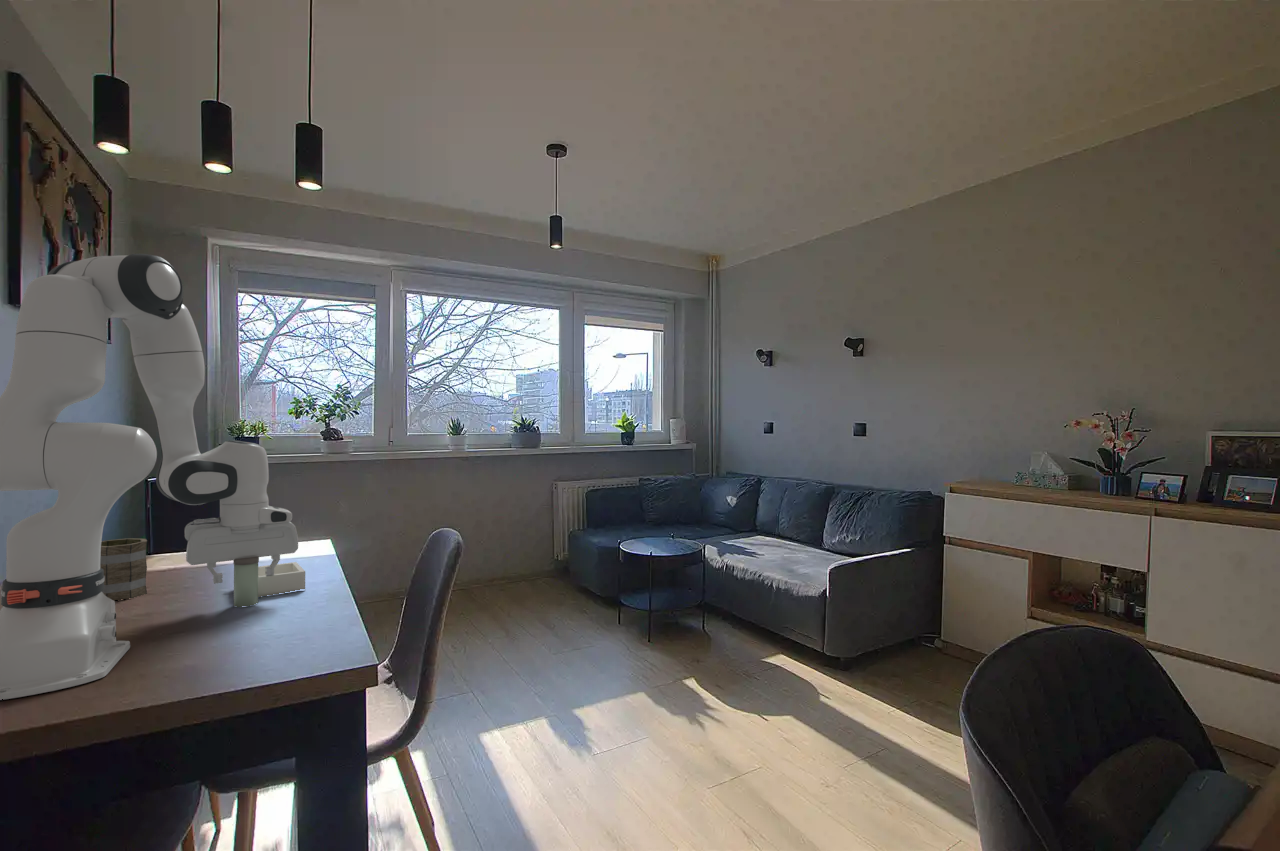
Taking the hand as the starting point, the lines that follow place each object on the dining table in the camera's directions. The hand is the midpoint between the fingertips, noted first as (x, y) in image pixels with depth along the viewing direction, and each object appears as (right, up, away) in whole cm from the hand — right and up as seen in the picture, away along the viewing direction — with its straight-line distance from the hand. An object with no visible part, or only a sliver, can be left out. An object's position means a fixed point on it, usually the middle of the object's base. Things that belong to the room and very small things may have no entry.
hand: (244, 579), depth 131 cm
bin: (-1, -5, +11) cm, 12 cm away
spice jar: (+1, -5, -1) cm, 5 cm away
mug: (-34, -5, +6) cm, 35 cm away
